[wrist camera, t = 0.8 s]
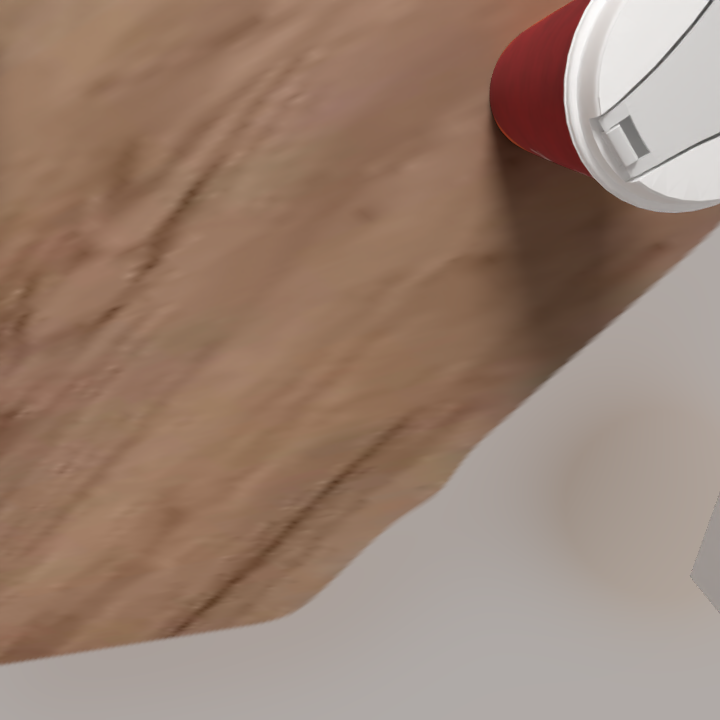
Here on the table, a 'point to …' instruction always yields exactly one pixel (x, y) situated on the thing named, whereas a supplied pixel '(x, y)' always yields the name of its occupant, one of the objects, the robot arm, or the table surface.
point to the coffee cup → (621, 97)
